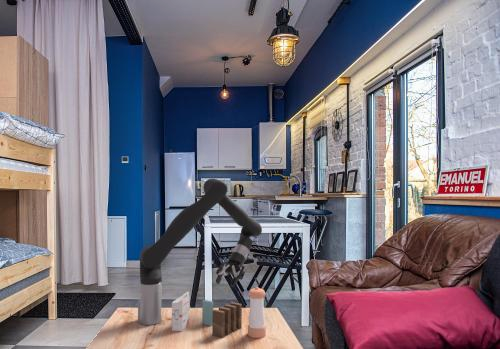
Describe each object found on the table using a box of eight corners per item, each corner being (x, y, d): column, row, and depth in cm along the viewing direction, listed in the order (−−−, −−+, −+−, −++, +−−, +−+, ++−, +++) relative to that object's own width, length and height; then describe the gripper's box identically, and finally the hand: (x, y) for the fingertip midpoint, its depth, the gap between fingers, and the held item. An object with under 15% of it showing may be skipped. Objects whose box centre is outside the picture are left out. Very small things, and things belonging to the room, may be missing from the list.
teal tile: (204, 322, 169) (204, 299, 169) (213, 324, 166) (213, 301, 166) (202, 323, 167) (202, 300, 168) (211, 325, 165) (211, 302, 165)
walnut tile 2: (232, 325, 165) (232, 302, 166) (241, 327, 163) (241, 304, 163) (229, 326, 164) (230, 303, 164) (239, 328, 161) (239, 305, 162)
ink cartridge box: (178, 323, 167) (179, 289, 168) (189, 324, 166) (190, 290, 167) (171, 330, 159) (171, 295, 159) (182, 331, 158) (182, 295, 158)
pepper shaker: (251, 339, 150) (252, 290, 151) (245, 332, 157) (245, 285, 158) (268, 336, 153) (268, 288, 154) (261, 330, 160) (261, 284, 161)
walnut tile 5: (214, 334, 155) (214, 309, 156) (224, 336, 153) (224, 311, 153) (212, 335, 154) (212, 310, 154) (222, 338, 151) (222, 312, 152)
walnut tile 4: (220, 331, 159) (220, 306, 159) (230, 333, 156) (230, 308, 156) (218, 332, 157) (218, 307, 158) (228, 334, 155) (228, 309, 155)
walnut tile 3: (226, 328, 162) (226, 304, 162) (236, 330, 159) (236, 306, 160) (224, 329, 161) (224, 305, 161) (233, 331, 158) (233, 307, 158)
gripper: (223, 249, 188) (208, 277, 178) (247, 252, 180) (233, 282, 171) (230, 259, 193) (215, 286, 183) (253, 262, 185) (240, 291, 175)
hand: (224, 284), depth 177 cm, fingers open, 8 cm apart
